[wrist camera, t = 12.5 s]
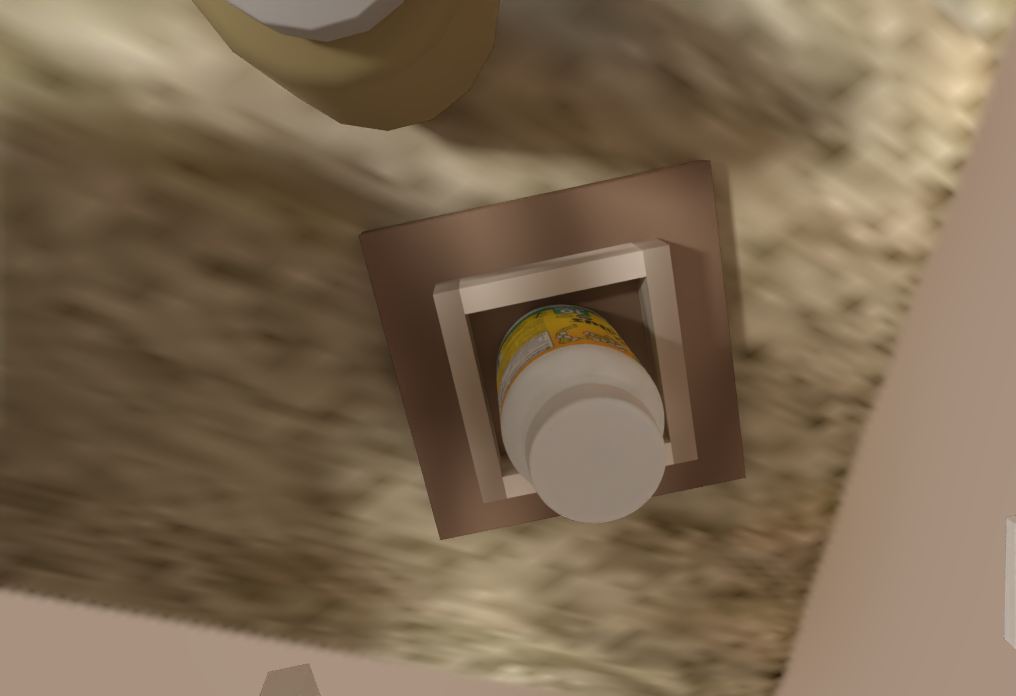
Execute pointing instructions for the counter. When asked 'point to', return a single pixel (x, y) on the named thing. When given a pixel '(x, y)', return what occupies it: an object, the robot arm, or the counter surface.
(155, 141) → the counter surface
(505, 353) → the supplement bottle
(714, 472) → the collar holder
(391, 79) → the squeeze bottle
